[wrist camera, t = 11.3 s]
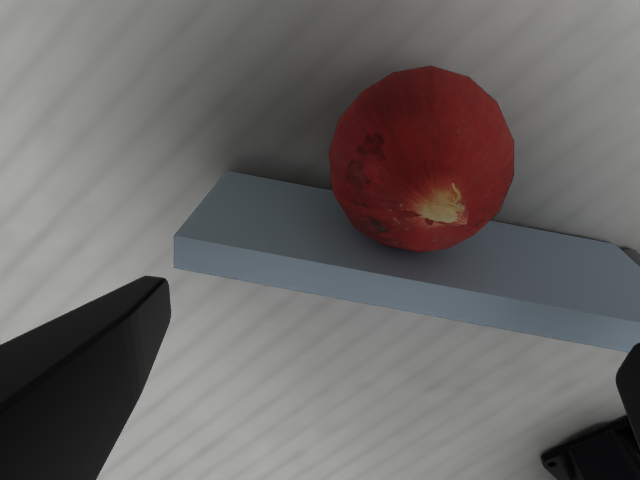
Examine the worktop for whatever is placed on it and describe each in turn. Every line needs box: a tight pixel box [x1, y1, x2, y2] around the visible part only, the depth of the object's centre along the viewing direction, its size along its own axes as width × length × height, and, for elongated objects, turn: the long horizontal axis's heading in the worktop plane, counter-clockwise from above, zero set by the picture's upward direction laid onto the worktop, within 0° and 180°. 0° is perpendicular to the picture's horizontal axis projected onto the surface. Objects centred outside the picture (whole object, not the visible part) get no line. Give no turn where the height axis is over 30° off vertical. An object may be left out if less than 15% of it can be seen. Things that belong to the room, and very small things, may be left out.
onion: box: [329, 66, 514, 253], centre depth 14 cm, size 6×6×8 cm
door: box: [174, 171, 640, 352], centre depth 16 cm, size 18×1×6 cm, turn 80°
